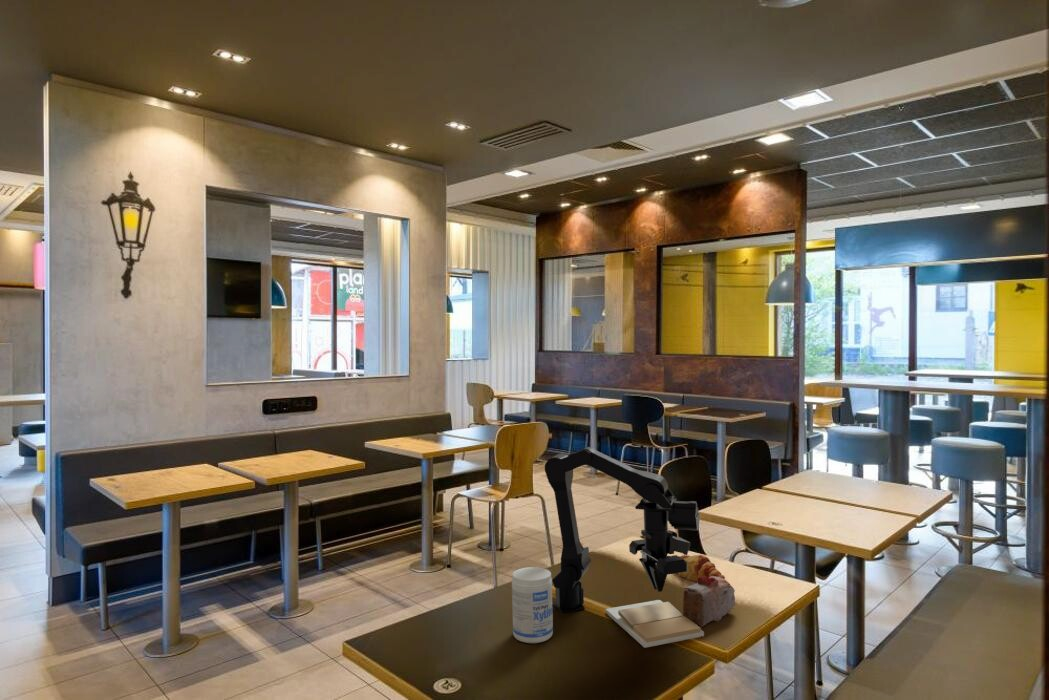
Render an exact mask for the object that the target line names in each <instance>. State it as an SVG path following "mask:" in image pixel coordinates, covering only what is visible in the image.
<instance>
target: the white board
mask: <svg viewBox="0 0 1049 700" xmlns="http://www.w3.org/2000/svg"><path fill="white" fill-rule="evenodd" d="M663 602H664V601H662V600H660V599H655V600H650V601H644V602H639V603H633V604H625V605H622V606H621V605H620V606H615V607H610V608H605V614H607V616H608V617H610V618H611V619H612V620H613V621H614V622H615V623H616V624H617V625H619V626H620V627H621V628H622V629H623V630H624V631H625V632H627V633H628V634H629V635H630V636H631V637H632V638H633V639H634V640H635V641H636V642H637V643H639V644H640V645H641V646H642V647H643V648H644V649H645V648H650V647H656V646H660V645H665V644H671V643H675V642H681V641H685V640H686V641H687V640H692V639H696V638H697V639H698V638H701V636H702V637H704V636H705V631H704V630H702V627H700V626H698V625H696V624H695V623H693V622H692V621H691V620H689V619H688V618H686V617H685V616H683V617H677V618H672V619H667V620H661V621H656V622H650V623H645V624H639V625H634V626H633V629H631V628H630V626H629V625H628V624H627V623H626V622H625V621H624V620H623V619H622V618H621V617H620V615H619V614H618V610H623V609H628V608H634V607H640V606H646V605H652V604H657V603H663Z"/></svg>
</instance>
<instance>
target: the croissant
mask: <svg viewBox="0 0 1049 700" xmlns="http://www.w3.org/2000/svg"><path fill="white" fill-rule="evenodd" d="M678 556H679V555H678ZM679 557H681V558H682V559H684V560H685V561H686V562H687V569H688V570H687V572H681V573H677V575H678V576H679V577H681V578H684V579H686V580H688V581H692V582H696V583H698V580H697V578H700V576H702V577H704V576H706V577H708V576H709V577H711V576H716V577H721V578H723V579H725V580H726V577H725V575H723V574H722V572H721V571H720V570H718V568H716V565H715V563H713V562H711V560H710V559H709V557H708V556H706V555H703V554H694V555H693V554H692V555H690V554H689V555H688V554H687V555H684V554H682V555H681V556H679Z"/></svg>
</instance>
